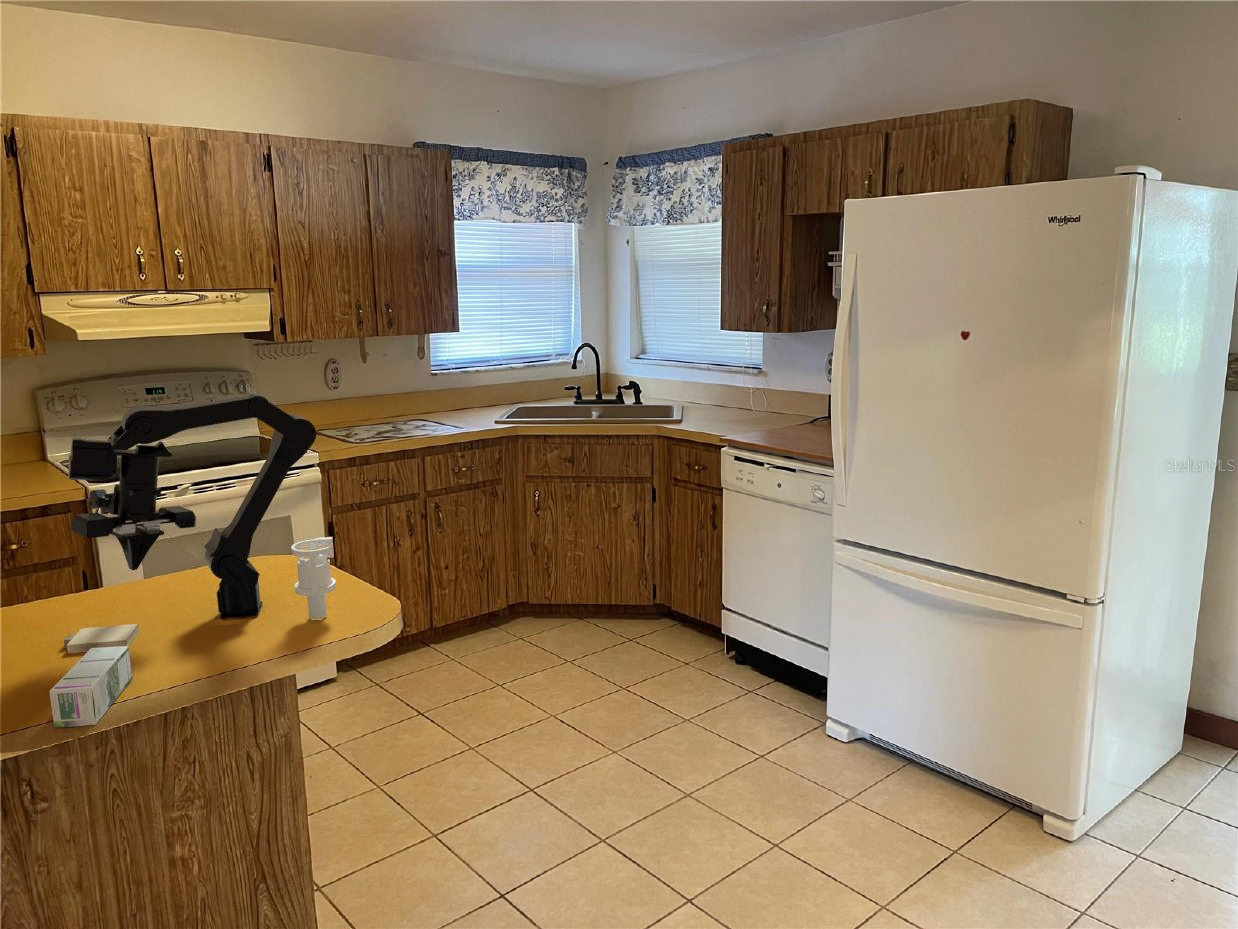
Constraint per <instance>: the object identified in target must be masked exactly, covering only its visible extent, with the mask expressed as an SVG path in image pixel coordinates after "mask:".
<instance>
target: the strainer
mask: <svg viewBox="0 0 1238 929" xmlns="http://www.w3.org/2000/svg"><path fill="white" fill-rule="evenodd" d="M333 541H334V540H333V536H327V537H320V536H319V537H316V538H315V539H308V540H307V539H306V540H302V541H298V542H296V543H294V544H292V545H291V546H290V547H291V554H292V555H293V556H294V557H297V558H298V559H297V560H296V564H297V575H298V576H297V577H298V581H297V582H296V583H295V584H294V592H295V594H297V595H299V596H302V597H303V596H304V597H307V605H308V606H307V607H308V619H309V618H310V619H322V618H323V617H325V616H327V617H328V615H327V614H328V613H327V604H326V600H327V599H326V594H329V593H332V592H333V591H335V590H336V588H337V580H336V579H335V578H333V577H332V572H331V561H330V558H334V555H335V554H334V542H333ZM318 546H320V547H323V548H318ZM308 547H309V550H302V549H303V548H308ZM317 548H318V549H317ZM305 558H308V559H305ZM328 558H329V559H328ZM325 559H327V562H325ZM310 619H309V620H310Z"/></svg>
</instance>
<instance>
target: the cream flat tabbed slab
mask: <svg viewBox="0 0 1238 929" xmlns="http://www.w3.org/2000/svg"><path fill="white" fill-rule="evenodd" d="M139 628H140V627H139V623H131V624H120V625H109V626H108V625H107V626H97V627H95V626H94V627H83V628H80V629H79V631H78V632H77V633H71V634H68V635H67V636H65V638H64V639H63V644H64V649H67V654H78V653H87V652H88V651H89V650H90V649H91V648H102V647H121V646H128V647H129V646H131V644H132V643H133V641H134V640H135V638H136V637H137V635H138V634H139V633H140V629H139ZM129 648H130V647H129Z"/></svg>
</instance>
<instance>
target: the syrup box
mask: <svg viewBox="0 0 1238 929" xmlns="http://www.w3.org/2000/svg"><path fill="white" fill-rule="evenodd" d="M133 676H134V675H133V669H132V661H131V655H130V647H128V646H121V647H102V648H91V649H90V650H89V651H88V652H85V654H84V655H83V656H82V657H81V658H80V659H79V660H78V661H77V662H76V663H75V664H74V665H73V667H72V668H70V670H69V671H68V672H66V674H64V675H63V677H62V678H61V679H60V680H59V681H58V682H56V683H55V685H54V686H53V687H52V688H51V689H50V690H49V698H50V705H51V712H52V719H53V720H52V721H53V727H54V728H71V727H72V728H73V727H75V728H77V727H83V726H84V727H85V726H96V724H98V722H99V721H100V720H101V719H102V717H103V716H104V715H105V713H107V711H108V710H109V709H110V707H112V705H113V704H114V703H115V701H116V700H117V699H118V698H119V697H120V695H121V694H122V692H123V691H124V690H125V689H126V687H127V686H128V685H129V684H130V683H131V682H132V680H133Z"/></svg>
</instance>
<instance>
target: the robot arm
mask: <svg viewBox="0 0 1238 929" xmlns="http://www.w3.org/2000/svg"><path fill="white" fill-rule="evenodd" d="M247 419H257V420H259V421H261V422H263V423H264V424H266V425H267V426H268V427H270V428H272V429H273V430H274V431H273V433H272V436H271V439H270V440H271V441H270V446H269V451H268V455H267V457H266V459H265V461H264V463H263V465H262V467H261V468H260V470H259V472H258V474H257V476H256V477H255V479H254V481H253V482H252V485H251V487H250V488H249V490H248V491H247V493H246V495H245V497H244V499H243V500H242V502H241V504H240V506H239V508H238V509H237V512H236V513H235V515H234V516H233V519H232V521H231V522H230V523H229V524H228V525H227V526H226V527H225V528H224V529H223V530H222V529H221V530H220V529H219V528H217V527H214V528H213V531H212V534H211V536H210V539H209V540H208V542H207V543H205V544H204V545H203V547H204V549H205V553H204V560H205V562H206V565H207V566H208V568H209V569H210V571H211V573H212V574H213V575H214V576H215V577H216V578H218V579H220V581H219V584H218V590H217V591H216V598H217V600H216V601H217V607H218V608H217V609H218V610H217V611H218V613H219V614H220V615H219V620H226V619H240V618H251V617H258V616H259V614H260V611H261V609H262V606H263V601H261V595H260V594H261V593H260V584H259V577H260V572H258V570H257V569H256V568H255V566H254V565H253V564H252V563H251V561H250V560H248V559H249V555H250V551H251V547H252V542H253V537H254V534H255V533H256V531H257V529H258V527H259V525H260V523H261V521H262V519H263V518H264V516H265V514H266V513H267V510H268V509H269V507H270V505H271V503H272V501H273V500H274V498H275V496H276V495H277V492H278V491H279V489H280V487H281V485H282V484H283V482H284V479H285V478H286V476H287V474H288V472H289V471H290V469H291V468H292V466H294V465H295V464H296V463H297V462H298V461H299V460H300V459H302V458H303V457H304V456H305V455H306V453H307V452H308V450H309V449H310V448H311V447H312V446H313V445H314V443H315V441H316V438H317V431H316V428H315V426H314V424H313V423H312V422H310V421H309V420H308V419H306V418H304V417H302V416H300V415H298V414H292V413H291V414H290V413H287V412H285V411H283V410H282V409H281V408H279V407H278V406H276V405H274V403H273V404H272V403H271V402H270V401H269V399H267V398H266V397H265V396H263V395H261V394H258V393H249V394H247V395H244V396H238V397H231V398H226V399H224V398H223V399H219V400H214V401H213V400H212V401H208V402H200V403H194V404H189V405H182V406H167V405H136V406H132V407H130V408H129V409H128V408H127V410H126V411H125V413H124V414H123V415H122V419H121V425H120V426H118V428H117V429H115V431H114V432H112V434H110V436H109V437H108V438H107V440H101V439H99V440H98V439H86V438H81V437H72V438H71V447H70V455H68V470H67V471H68V474H67V475H68V480H71V481H108V480H109V478H113V475H117V468H118V456H120V465H119V466H120V467H119V471H120V472H119V482H118V484H117V483H116V484H114V487H113V492H110V493H107V491H106V489H102V488H101V489H92V490H90V492H89V498H88V501H89V508H90V509H91V510H97V509H98V510H99V509H100V513H99V512H89V513H87V512H86V513H78V514H77V513H76V514H75V515H74V517H73V518H72V519H71V521H70V531H71V532H73V533H75V534H77V535H80V536H82V537H84V538H86V539H87V538H88V539H93V538H94V539H95V538H104V537H109V536H110V535H112V536H115V537H116V539H117V541H118V542H119V545H120V546H121V549H122V552H123V555H124V557H125V559H126V563H127V565H128V568H129V570H131V571H136V570H138V569H139V568H140V566H141V564H142V562H143V560H144V558H146V555H147V554H148V552H149V551H150V549H151V548H152V546H153V545H154V543H156V541H157V540H158V538H159V537H161V536H164V535H165V531H163V530H162V529H161V525H163V524H173V523H174V524H175V525H176V527H177V528H179V529H188V528H195V527H196V523H197V516H196V513H195V512H194V510H191V509H189V508H186V507H183V506H180V505H175V506H174V505H172V506H162V507H160V508H159V509H158V510H156V509H157V496H162V489H161V488H158V481H159V478H158V477H159V467H160V466H159V465H160V464H159V462H160V458H171V457H172V456H173V453H172V451H170V449H168V448H167V447H166V446H165V444H164V442H163V441H162V440H164V439H167V438H170V437H173V436H174V435H176V434H179V433H180V432H184V431H187V430H191V429H196V428H197V429H198V428H201V427H208V426H215V425H220V424H225V423H231V422H237V421H243V420H247ZM153 443H156V444H154V445H152V444H153ZM150 444H151V445H150ZM133 447H135V448H133ZM131 448H133V449H131ZM108 514H110V515H113V516H112V517H108V516H106V515H108ZM115 515H116V516H115Z"/></svg>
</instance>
